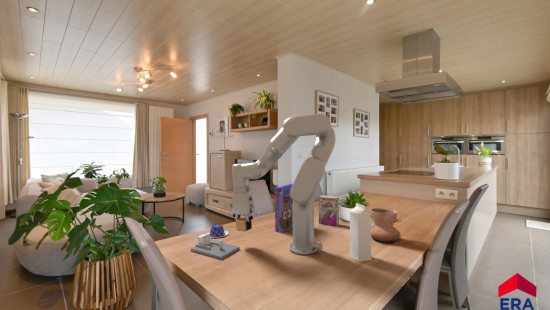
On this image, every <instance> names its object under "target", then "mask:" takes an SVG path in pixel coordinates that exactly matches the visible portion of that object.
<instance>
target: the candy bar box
mask: <svg viewBox="0 0 550 310" xmlns="http://www.w3.org/2000/svg"><path fill="white" fill-rule="evenodd" d="M318 224H321V225H327V226H333V227H338V226H339V225H340V197H339V196H330V195H320V196H318Z"/></svg>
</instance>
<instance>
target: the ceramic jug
mask: <svg viewBox="0 0 550 310" xmlns="http://www.w3.org/2000/svg"><path fill="white" fill-rule="evenodd" d="M370 213H371V220H372V222H373V223H374V224H373V225H371V239H374V240H376V241H379V242H386V243H389V242H390V243H391V242H395V241H398V240H399V239H400V238H401V235H402V234H401V232H400V230H398V228H396V227H394V225H395V223H401V222H403V220H402V219H400V218H397V217H398V211H397V210H394V209H390V208H389V209H388V208H382V207H381V208H380V207H378V208H376V207H374V208H373V207H372V208H370Z"/></svg>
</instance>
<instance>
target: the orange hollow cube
mask: <svg viewBox="0 0 550 310" xmlns="http://www.w3.org/2000/svg"><path fill="white" fill-rule="evenodd" d="M246 222H247V219H246V216H241V217H240V218H239V219H237V220H235V225H236V227H235V228H236V231H238V232H248V231H249V230H247V229H246ZM252 228H253V227H252ZM252 228H251V229H252ZM251 229H250V230H251Z"/></svg>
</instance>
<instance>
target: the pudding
mask: <svg viewBox="0 0 550 310" xmlns="http://www.w3.org/2000/svg"><path fill="white" fill-rule="evenodd" d="M205 234H210V239H211V238H212V239H216V238H217V239H219V238H222V237H226V236H228V235H229V234H230V233H229V231H228V230H225V229H224V226H223V224H221V223H217V224H216V223H215V224H212V225H211V227H210V230H209V232H206V233H205Z"/></svg>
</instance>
